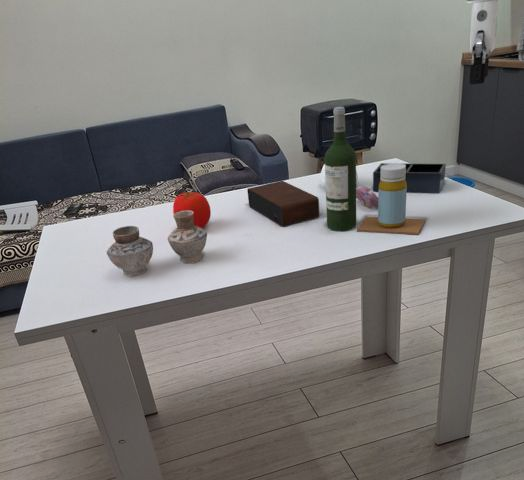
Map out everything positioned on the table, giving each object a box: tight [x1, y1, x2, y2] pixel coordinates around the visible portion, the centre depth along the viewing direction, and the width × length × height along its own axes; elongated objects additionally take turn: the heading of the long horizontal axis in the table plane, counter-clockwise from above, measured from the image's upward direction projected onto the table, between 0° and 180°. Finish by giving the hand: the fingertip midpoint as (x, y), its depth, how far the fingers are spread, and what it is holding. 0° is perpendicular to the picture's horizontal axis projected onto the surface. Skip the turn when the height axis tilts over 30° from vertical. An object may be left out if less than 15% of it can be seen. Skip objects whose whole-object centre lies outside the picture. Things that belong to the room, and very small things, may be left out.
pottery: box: [106, 210, 208, 277], centre depth 133 cm, size 11×25×12 cm, turn 109°
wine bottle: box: [324, 106, 357, 232], centre depth 138 cm, size 8×8×30 cm
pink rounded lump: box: [356, 185, 378, 209], centre depth 156 cm, size 10×5×7 cm, turn 22°
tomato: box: [172, 191, 212, 229], centre depth 153 cm, size 10×11×11 cm
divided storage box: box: [372, 162, 447, 194], centre depth 167 cm, size 20×10×6 cm, turn 66°
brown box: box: [247, 180, 320, 228], centre depth 159 cm, size 24×12×6 cm, turn 25°
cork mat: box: [356, 215, 426, 236], centre depth 142 cm, size 16×10×1 cm, turn 66°
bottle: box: [377, 162, 408, 228], centre depth 138 cm, size 7×7×15 cm
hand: (478, 80), depth 126 cm, fingers open, 9 cm apart
